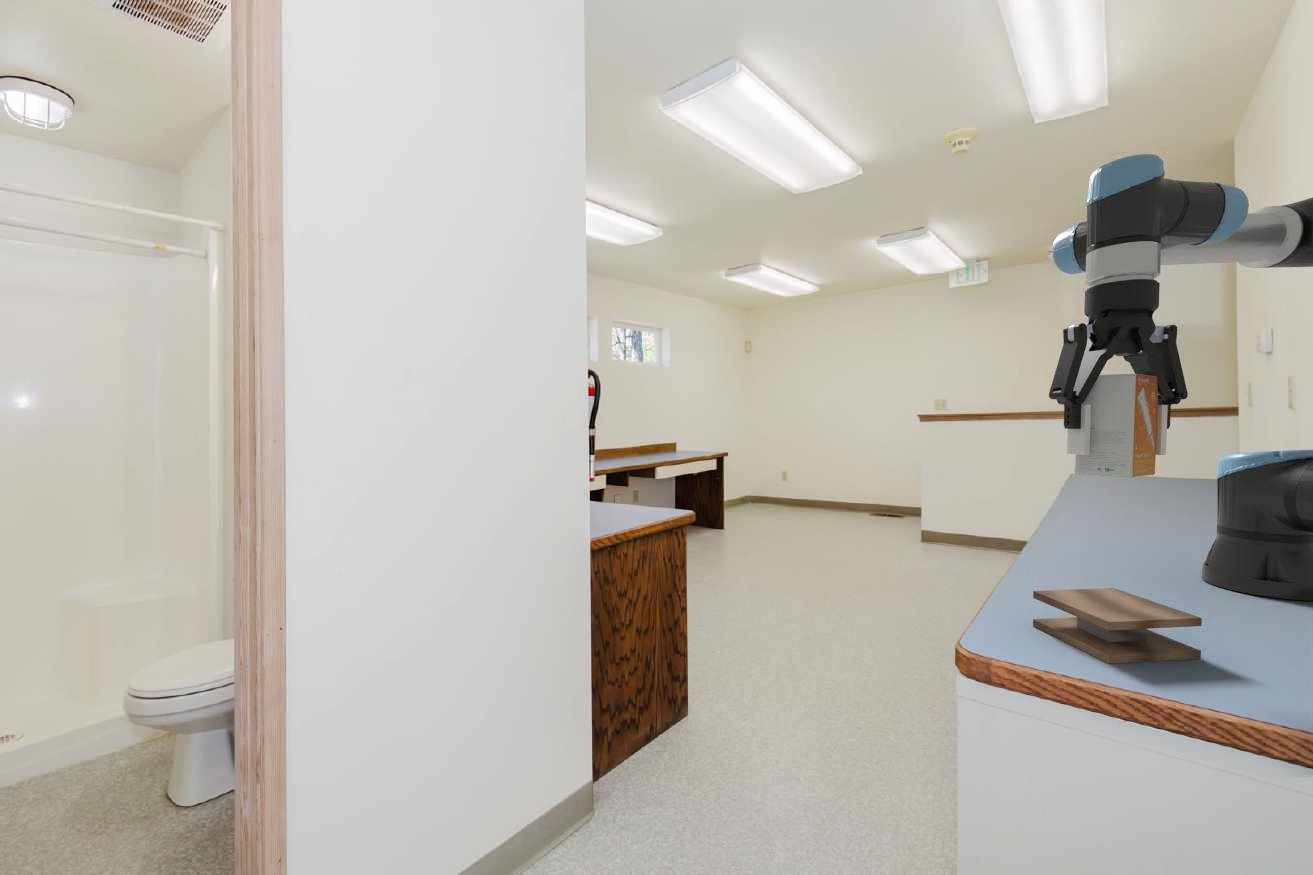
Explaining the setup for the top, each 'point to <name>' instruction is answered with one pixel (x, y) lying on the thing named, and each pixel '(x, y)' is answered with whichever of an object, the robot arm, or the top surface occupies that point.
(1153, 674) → the top surface
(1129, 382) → the small box
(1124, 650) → the stand
